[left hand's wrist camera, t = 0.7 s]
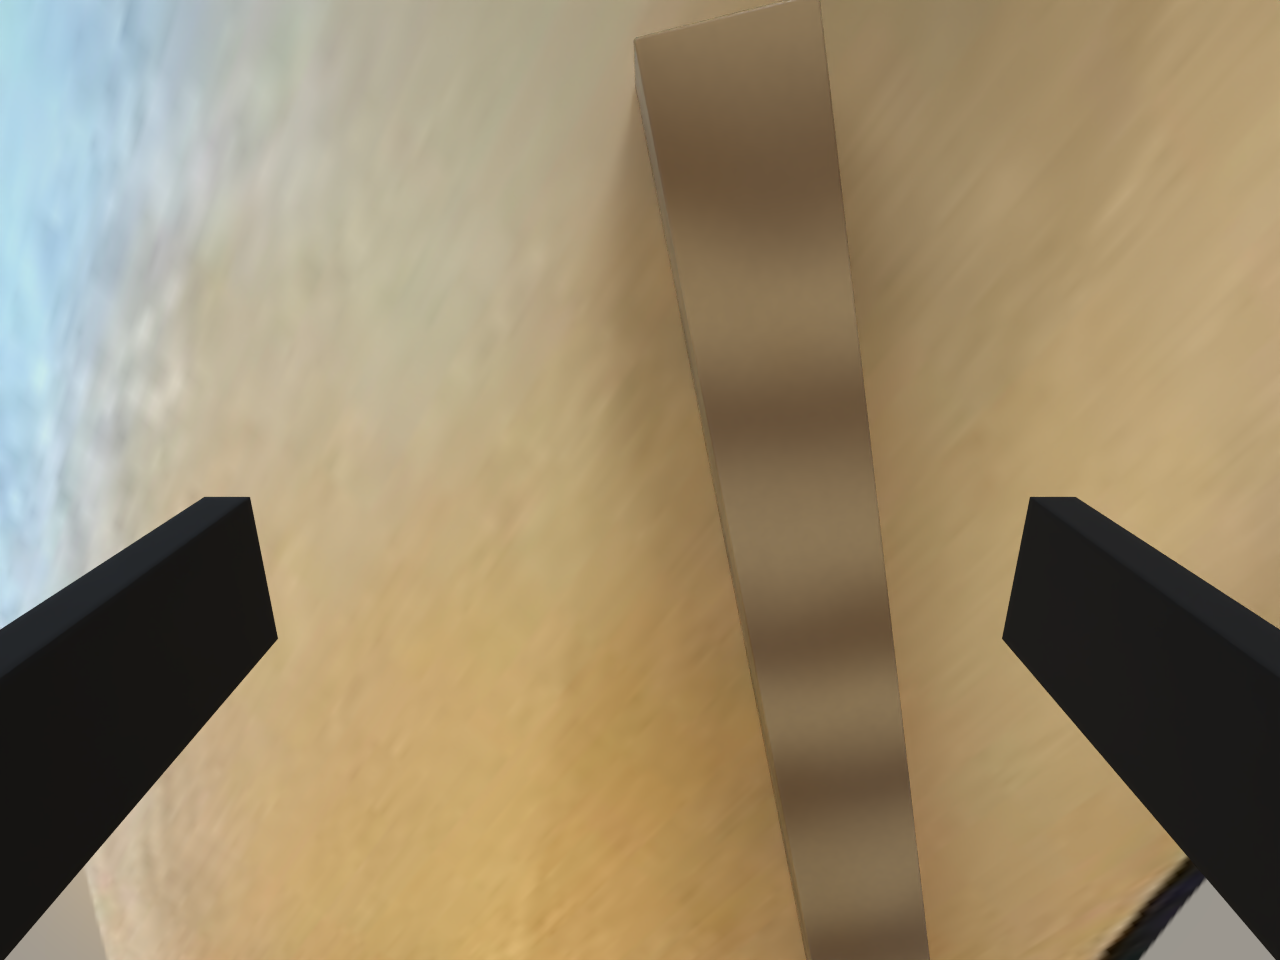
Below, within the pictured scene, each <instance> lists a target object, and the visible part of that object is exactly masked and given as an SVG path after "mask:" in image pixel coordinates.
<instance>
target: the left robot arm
mask: <svg viewBox="0 0 1280 960" xmlns="http://www.w3.org/2000/svg"><path fill="white" fill-rule="evenodd" d="M277 639H278V637H277V632H276V627H275V622H274V616H273V611H272V606H271V601H270V596H269V591H268V586H267V581H266V576H265V571H264V566H263V561H262V556H261V551H260V545H259V540H258V535H257V530H256V525H255V520H254V515H253V510H252V505H251V500H250V497H204V498H202V499H201V500H199V501H198V502H196V503H194V504H193V505H191V506H190V507H188V508H187V509H185V510H184V511H182V512H181V513H179V514H178V515H176V516H174V517H173V518H171V519H170V520H168V521H167V522H165V523H164V524H162V525H161V526H159V527H157V528H156V529H154V530H153V531H151V532H150V533H148V534H147V535H145V536H144V537H142V538H141V539H139V540H137V541H136V542H134V543H133V544H131V545H130V546H128V547H127V548H125V549H124V550H122V551H121V552H119V553H117V554H116V555H114V556H113V557H111V558H110V559H108V560H107V561H105V562H104V563H102V564H101V565H99V566H97V567H96V568H94V569H93V570H91V571H90V572H88V573H87V574H85V575H84V576H82V577H81V578H79V579H77V580H76V581H74V582H73V583H71V584H70V585H68V586H67V587H65V588H64V589H62V590H61V591H59V592H57V593H56V594H54V595H53V596H51V597H50V598H48V599H47V600H45V601H44V602H42V603H41V604H39V605H37V606H36V607H34V608H33V609H31V610H30V611H28V612H27V613H25V614H24V615H22V616H21V617H19V618H17V619H16V620H14V621H13V622H11V623H10V624H8V625H7V626H5V627H4V628H2V629H1V630H0V960H4V959H5V958H6V957H7V956H8V955H9V953H10V952H11V951H12V950H13V949H14V948H15V946H16V945H17V944H18V943H19V942H20V941H21V939H22V938H23V937H24V936H25V935H26V934H27V932H28V931H29V930H30V929H31V928H32V926H33V925H34V924H35V923H36V922H37V921H38V919H39V918H40V917H41V916H42V915H43V914H44V912H45V911H46V910H47V909H48V908H49V907H50V905H51V904H52V903H53V902H54V901H55V900H56V898H57V897H58V896H59V895H60V894H61V892H62V891H63V890H64V889H65V888H66V887H67V885H68V884H69V883H70V882H71V881H72V880H73V878H74V877H75V876H76V875H77V874H78V872H79V871H80V870H81V869H82V868H83V867H84V866H85V864H86V863H87V862H88V861H89V860H90V858H91V857H92V856H93V855H94V854H95V853H96V851H97V850H98V849H99V848H100V847H101V846H102V844H103V843H104V842H105V841H106V840H107V839H108V837H109V836H110V835H111V834H112V833H113V831H114V830H115V829H116V828H117V827H118V826H119V824H120V823H121V822H122V821H123V820H124V819H125V817H126V816H127V815H128V814H129V813H130V812H131V810H132V809H133V808H134V807H135V806H136V805H137V803H138V802H139V801H140V800H141V799H142V797H143V796H144V795H145V794H146V793H147V792H148V790H149V789H150V788H151V787H152V786H153V785H154V783H155V782H156V781H157V780H158V779H159V778H160V776H161V775H162V774H163V773H164V772H165V771H166V769H167V768H168V767H169V766H170V765H171V763H172V762H173V761H174V760H175V759H176V758H177V756H178V755H179V754H180V753H181V752H182V751H183V749H184V748H185V747H186V746H187V745H188V744H189V742H190V741H191V740H192V739H193V738H194V736H195V735H196V734H197V733H198V732H199V731H200V729H201V728H202V727H203V726H204V725H205V724H206V722H207V721H208V720H209V719H210V718H211V717H212V715H213V714H214V713H215V712H216V711H217V710H218V708H219V707H220V706H221V705H222V704H223V702H224V701H225V700H226V699H227V698H228V697H229V695H230V694H231V693H232V692H233V691H234V690H235V688H236V687H237V686H238V685H239V684H240V683H241V681H242V680H243V679H244V678H245V677H246V676H247V674H248V673H249V672H250V671H251V670H252V668H253V667H254V666H255V665H256V664H257V663H258V661H259V660H260V659H261V658H262V657H263V656H264V654H265V653H266V652H267V651H268V650H269V649H270V647H271V646H272V645H273V644H274V643H275V641H276V640H277ZM1002 639H1003V640H1004V641H1005V643H1006V644H1007V645H1008V646H1009V647H1010V649H1011V650H1012V651H1013V652H1014V653H1015V654H1016V656H1017V657H1018V658H1019V659H1020V660H1021V661H1022V663H1023V664H1024V665H1025V666H1026V667H1027V668H1028V670H1029V671H1030V672H1031V673H1032V674H1033V676H1034V677H1035V678H1036V679H1037V680H1038V681H1039V683H1040V684H1041V685H1042V686H1043V687H1044V688H1045V690H1046V691H1047V692H1048V693H1049V694H1050V695H1051V697H1052V698H1053V699H1054V700H1055V701H1056V702H1057V704H1058V705H1059V706H1060V707H1061V708H1062V710H1063V711H1064V712H1065V713H1066V714H1067V715H1068V717H1069V718H1070V719H1071V720H1072V721H1073V722H1074V724H1075V725H1076V726H1077V727H1078V728H1079V729H1080V731H1081V732H1082V733H1083V734H1084V735H1085V736H1086V738H1087V739H1088V740H1089V741H1090V742H1091V744H1092V745H1093V746H1094V747H1095V748H1096V749H1097V751H1098V752H1099V753H1100V754H1101V755H1102V756H1103V758H1104V759H1105V760H1106V761H1107V762H1108V763H1109V765H1110V766H1111V767H1112V768H1113V769H1114V771H1115V772H1116V773H1117V774H1118V775H1119V776H1120V778H1121V779H1122V780H1123V781H1124V782H1125V783H1126V785H1127V786H1128V787H1129V788H1130V789H1131V790H1132V792H1133V793H1134V794H1135V795H1136V796H1137V797H1138V799H1139V800H1140V801H1141V802H1142V803H1143V805H1144V806H1145V807H1146V808H1147V809H1148V810H1149V812H1150V813H1151V814H1152V815H1153V816H1154V817H1155V819H1156V820H1157V821H1158V822H1159V823H1160V824H1161V826H1162V827H1163V828H1164V829H1165V830H1166V831H1167V833H1168V834H1169V835H1170V836H1171V837H1172V839H1173V840H1174V841H1175V842H1176V843H1177V844H1178V846H1179V847H1180V848H1181V849H1182V850H1183V851H1184V853H1185V854H1186V855H1187V856H1188V857H1189V858H1190V860H1191V861H1192V862H1193V863H1194V864H1195V866H1196V867H1197V868H1198V869H1199V870H1200V871H1201V873H1202V874H1203V875H1204V876H1205V877H1206V878H1207V880H1208V881H1209V882H1210V883H1211V884H1212V885H1213V887H1214V888H1215V889H1216V890H1217V891H1218V892H1219V894H1220V895H1221V896H1222V897H1223V898H1224V900H1225V901H1226V902H1227V903H1228V904H1229V905H1230V907H1231V908H1232V909H1233V910H1234V911H1235V912H1236V914H1237V915H1238V916H1239V917H1240V918H1241V919H1242V921H1243V922H1244V923H1245V924H1246V925H1247V926H1248V928H1249V929H1250V930H1251V931H1252V932H1253V934H1254V935H1255V936H1256V937H1257V938H1258V939H1259V941H1260V942H1261V943H1262V944H1263V945H1264V946H1265V948H1266V949H1267V950H1268V951H1269V952H1270V953H1271V955H1272V956H1273V957H1274V958H1275V959H1276V960H1280V630H1279V629H1278V628H1276V627H1275V626H1273V625H1272V624H1270V623H1269V622H1267V621H1266V620H1264V619H1263V618H1261V617H1259V616H1258V615H1256V614H1255V613H1253V612H1252V611H1250V610H1249V609H1247V608H1246V607H1244V606H1243V605H1241V604H1239V603H1238V602H1236V601H1235V600H1233V599H1232V598H1230V597H1229V596H1227V595H1226V594H1224V593H1223V592H1221V591H1219V590H1218V589H1216V588H1215V587H1213V586H1212V585H1210V584H1209V583H1207V582H1206V581H1204V580H1203V579H1201V578H1199V577H1198V576H1196V575H1195V574H1193V573H1192V572H1190V571H1189V570H1187V569H1186V568H1184V567H1183V566H1181V565H1179V564H1178V563H1176V562H1175V561H1173V560H1172V559H1170V558H1169V557H1167V556H1166V555H1164V554H1163V553H1161V552H1159V551H1158V550H1156V549H1155V548H1153V547H1152V546H1150V545H1149V544H1147V543H1146V542H1144V541H1143V540H1141V539H1139V538H1138V537H1136V536H1135V535H1133V534H1132V533H1130V532H1129V531H1127V530H1126V529H1124V528H1123V527H1121V526H1119V525H1118V524H1116V523H1115V522H1113V521H1112V520H1110V519H1109V518H1107V517H1106V516H1104V515H1102V514H1101V513H1099V512H1098V511H1096V510H1095V509H1093V508H1092V507H1090V506H1089V505H1087V504H1086V503H1084V502H1082V501H1081V500H1079V499H1078V498H1076V497H1030V500H1029V505H1028V510H1027V515H1026V520H1025V525H1024V530H1023V535H1022V540H1021V545H1020V551H1019V556H1018V561H1017V566H1016V571H1015V576H1014V581H1013V586H1012V591H1011V596H1010V601H1009V606H1008V611H1007V616H1006V621H1005V627H1004V632H1003V637H1002Z"/></svg>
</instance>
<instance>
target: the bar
mask: <svg viewBox="0 0 1280 960" xmlns="http://www.w3.org/2000/svg"><path fill="white" fill-rule="evenodd" d="M634 62H635V86H636V91H637V97H638V102H639V107H640V112H641V117H642V122H643V127H644V132H645V137H646V143H647V148H648V153H649V158H650V163H651V168H652V173H653V178H654V183H655V188H656V194H657V199H658V204H659V209H660V214H661V219H662V224H663V229H664V234H665V240H666V245H667V250H668V255H669V260H670V265H671V270H672V275H673V280H674V286H675V291H676V296H677V301H678V306H679V311H680V316H681V321H682V326H683V331H684V337H685V342H686V347H687V352H688V357H689V362H690V367H691V372H692V377H693V383H694V388H695V393H696V398H697V403H698V408H699V413H700V418H701V423H702V429H703V434H704V439H705V444H706V449H707V454H708V459H709V464H710V469H711V475H712V480H713V485H714V490H715V495H716V500H717V505H718V510H719V515H720V520H721V526H722V531H723V536H724V541H725V546H726V551H727V556H728V561H729V566H730V572H731V577H732V582H733V587H734V592H735V597H736V602H737V607H738V612H739V618H740V623H741V628H742V633H743V638H744V643H745V648H746V653H747V658H748V663H749V669H750V674H751V679H752V684H753V689H754V694H755V699H756V704H757V709H758V715H759V720H760V725H761V730H762V735H763V740H764V745H765V750H766V755H767V761H768V766H769V771H770V776H771V781H772V786H773V791H774V796H775V801H776V806H777V812H778V817H779V822H780V827H781V832H782V837H783V842H784V847H785V852H786V858H787V863H788V868H789V873H790V878H791V883H792V888H793V893H794V898H795V904H796V909H797V914H798V919H799V924H800V929H801V934H802V939H803V944H804V950H805V955H806V960H930V957H929V949H928V940H927V931H926V922H925V914H924V905H923V896H922V887H921V879H920V870H919V861H918V852H917V844H916V835H915V826H914V817H913V809H912V800H911V791H910V782H909V774H908V765H907V756H906V748H905V739H904V730H903V721H902V713H901V704H900V695H899V686H898V678H897V669H896V660H895V651H894V643H893V634H892V625H891V616H890V608H889V599H888V590H887V581H886V573H885V564H884V555H883V546H882V538H881V529H880V520H879V511H878V503H877V494H876V485H875V477H874V468H873V459H872V450H871V442H870V433H869V424H868V415H867V407H866V398H865V389H864V380H863V372H862V363H861V354H860V345H859V337H858V328H857V319H856V310H855V302H854V293H853V284H852V275H851V267H850V258H849V249H848V240H847V232H846V223H845V214H844V206H843V197H842V188H841V179H840V171H839V162H838V153H837V144H836V136H835V127H834V118H833V109H832V101H831V92H830V83H829V74H828V66H827V57H826V48H825V39H824V31H823V22H822V13H821V4H820V0H784V1H780V2H776V3H772V4H768V5H764V6H760V7H756V8H752V9H748V10H744V11H740V12H736V13H732V14H728V15H724V16H720V17H716V18H712V19H708V20H704V21H700V22H696V23H692V24H688V25H684V26H680V27H676V28H672V29H668V30H664V31H660V32H656V33H652V34H648V35H644V36H640V37H636V38H635V39H634Z"/></svg>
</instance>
